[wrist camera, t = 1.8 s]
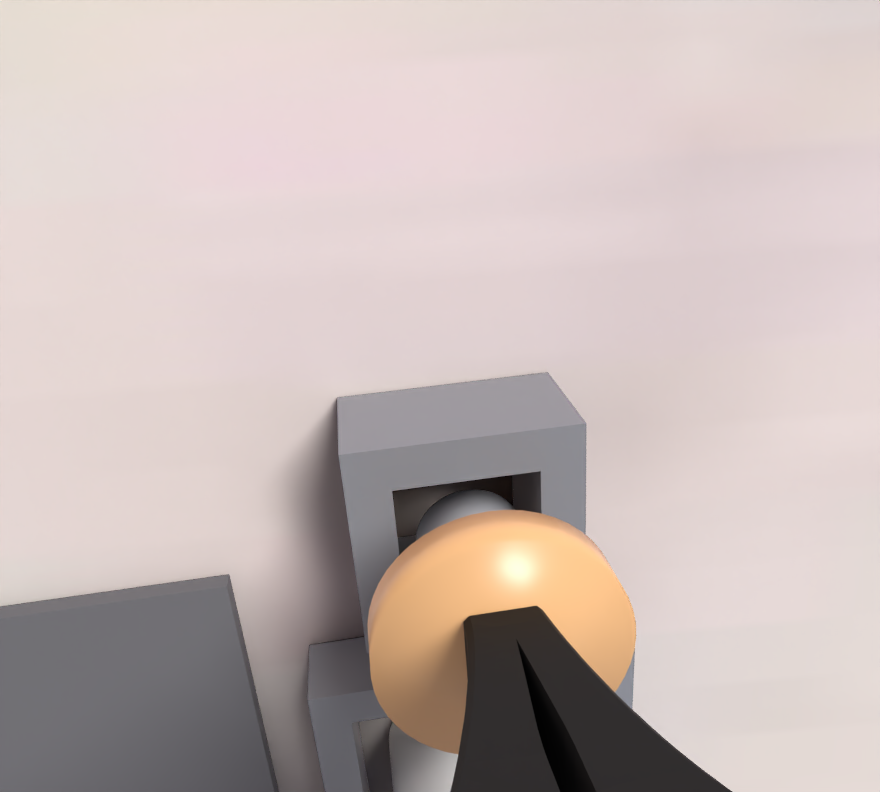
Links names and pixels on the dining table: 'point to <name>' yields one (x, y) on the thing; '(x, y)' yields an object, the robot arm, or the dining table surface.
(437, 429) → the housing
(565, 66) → the dining table surface
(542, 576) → the plunger
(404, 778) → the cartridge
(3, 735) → the mat
